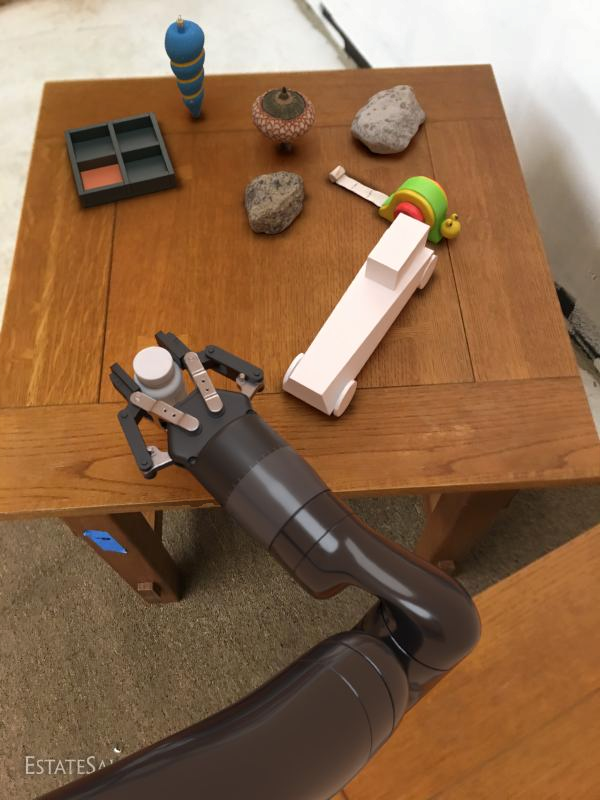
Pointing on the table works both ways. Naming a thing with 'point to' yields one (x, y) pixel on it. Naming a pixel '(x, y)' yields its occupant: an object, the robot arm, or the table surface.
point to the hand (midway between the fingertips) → (137, 353)
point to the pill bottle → (159, 376)
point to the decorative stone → (388, 120)
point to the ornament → (187, 61)
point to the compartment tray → (119, 159)
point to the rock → (274, 201)
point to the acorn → (283, 116)
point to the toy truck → (362, 317)
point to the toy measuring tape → (409, 203)
